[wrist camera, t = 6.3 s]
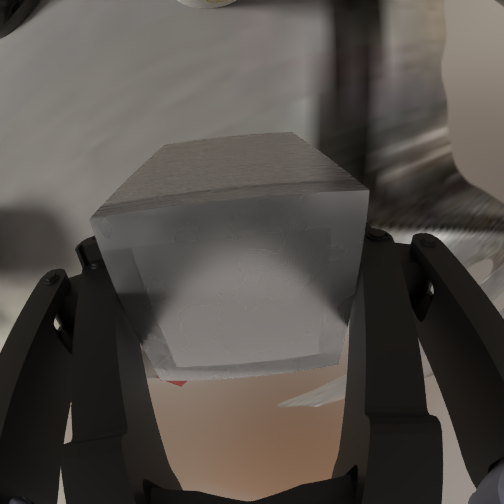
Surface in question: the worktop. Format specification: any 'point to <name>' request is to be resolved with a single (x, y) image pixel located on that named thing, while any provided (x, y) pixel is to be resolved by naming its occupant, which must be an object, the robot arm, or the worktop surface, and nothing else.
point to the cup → (206, 3)
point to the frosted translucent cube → (236, 255)
